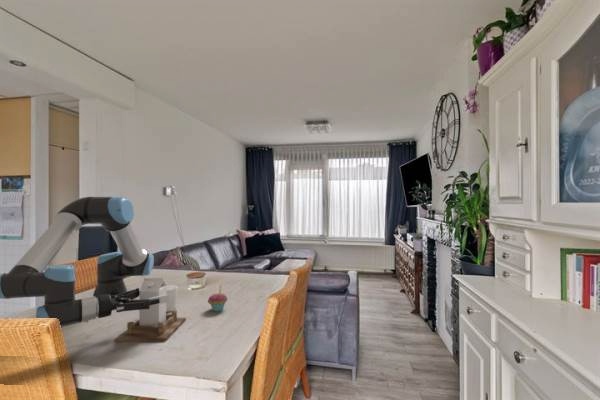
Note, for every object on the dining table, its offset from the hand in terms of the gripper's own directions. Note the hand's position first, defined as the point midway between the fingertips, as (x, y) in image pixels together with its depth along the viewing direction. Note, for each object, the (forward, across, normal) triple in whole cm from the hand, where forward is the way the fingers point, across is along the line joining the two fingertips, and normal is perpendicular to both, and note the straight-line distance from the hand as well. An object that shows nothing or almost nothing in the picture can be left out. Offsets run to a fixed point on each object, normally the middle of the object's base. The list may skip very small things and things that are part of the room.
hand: (162, 294), depth 112 cm
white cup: (+8, -19, -13) cm, 25 cm away
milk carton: (-3, 0, -12) cm, 13 cm away
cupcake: (+25, -3, -13) cm, 28 cm away
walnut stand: (-3, 0, -13) cm, 14 cm away
